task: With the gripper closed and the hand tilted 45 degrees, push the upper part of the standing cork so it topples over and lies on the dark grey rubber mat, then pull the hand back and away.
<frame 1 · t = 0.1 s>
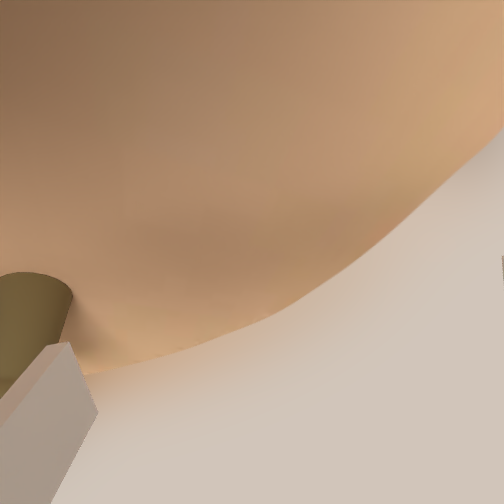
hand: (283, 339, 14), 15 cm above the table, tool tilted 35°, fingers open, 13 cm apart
cork: (33, 290, 39), on the table
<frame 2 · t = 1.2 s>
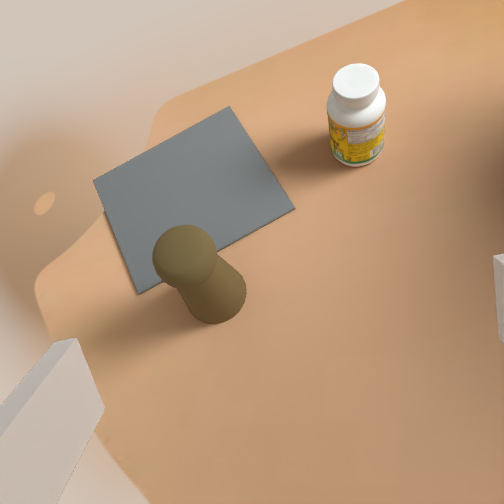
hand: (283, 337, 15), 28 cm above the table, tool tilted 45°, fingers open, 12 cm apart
supplement bottle: (356, 147, 50), on the table
cork: (216, 294, 47), on the table
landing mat: (187, 194, 52), on the table
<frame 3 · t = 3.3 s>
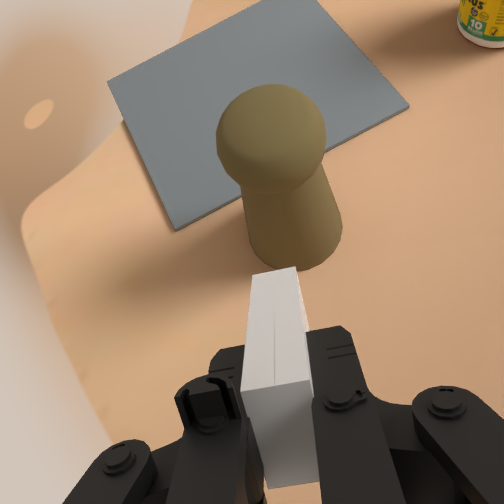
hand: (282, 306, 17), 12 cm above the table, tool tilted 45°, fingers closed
supplement bottle: (494, 25, 34), on the table
cork: (295, 229, 31), on the table
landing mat: (244, 94, 36), on the table
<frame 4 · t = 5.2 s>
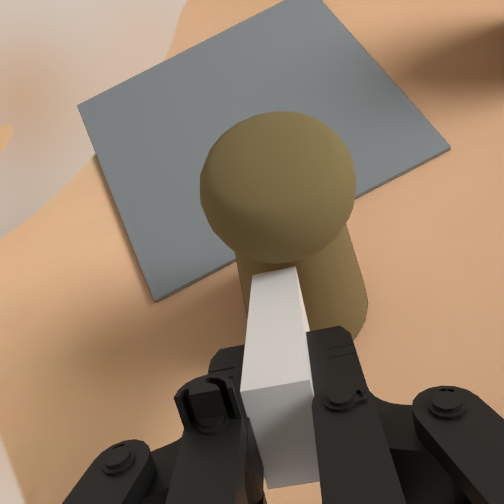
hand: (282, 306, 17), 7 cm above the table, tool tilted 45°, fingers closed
cork: (306, 303, 24), on the table
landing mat: (243, 126, 30), on the table
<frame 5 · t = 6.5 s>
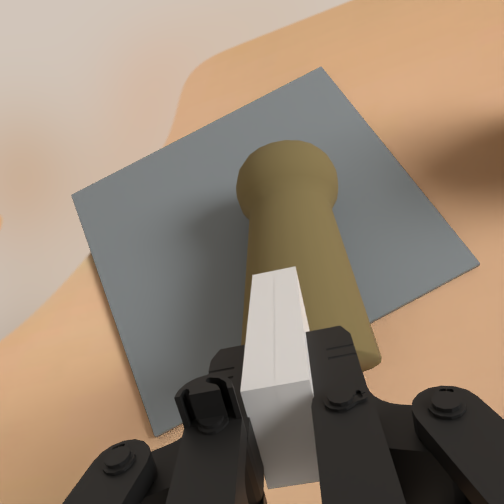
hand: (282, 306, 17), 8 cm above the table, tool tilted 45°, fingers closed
cork: (310, 373, 20), point 3 cm above the table, touching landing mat
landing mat: (250, 227, 27), on the table
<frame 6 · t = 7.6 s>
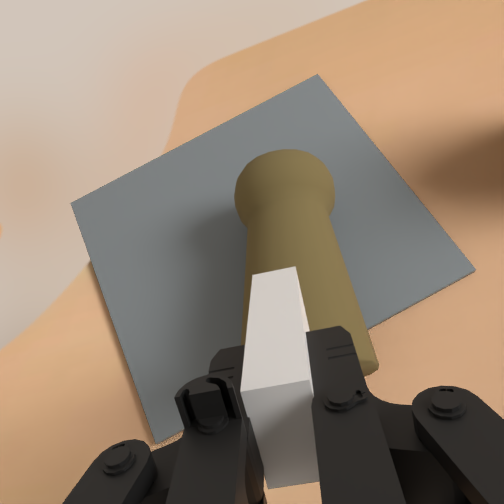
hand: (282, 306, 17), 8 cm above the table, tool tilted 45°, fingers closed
cork: (309, 380, 21), point 3 cm above the table, touching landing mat
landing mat: (249, 234, 27), on the table
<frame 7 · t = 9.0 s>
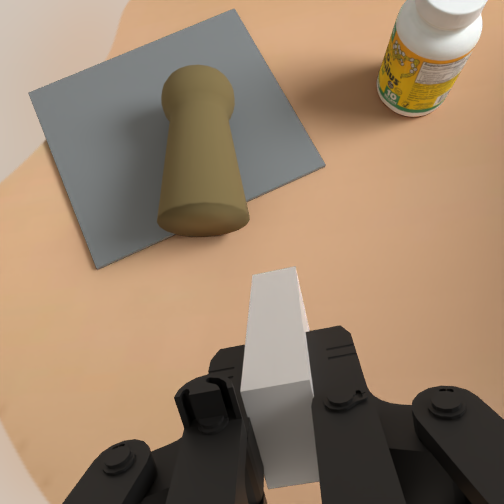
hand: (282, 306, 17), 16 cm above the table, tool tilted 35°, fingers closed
supplement bottle: (409, 90, 37), on the table
cork: (203, 223, 31), point 3 cm above the table, touching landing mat
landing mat: (172, 129, 37), on the table
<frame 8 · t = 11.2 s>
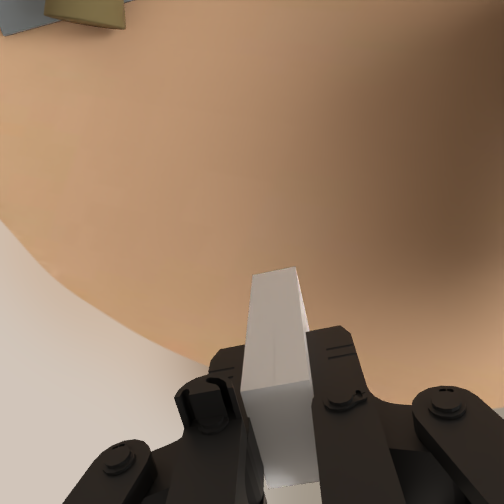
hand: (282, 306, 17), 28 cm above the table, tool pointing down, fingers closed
cork: (85, 25, 37), point 3 cm above the table, touching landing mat
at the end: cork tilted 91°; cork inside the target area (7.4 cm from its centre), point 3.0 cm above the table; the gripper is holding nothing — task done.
